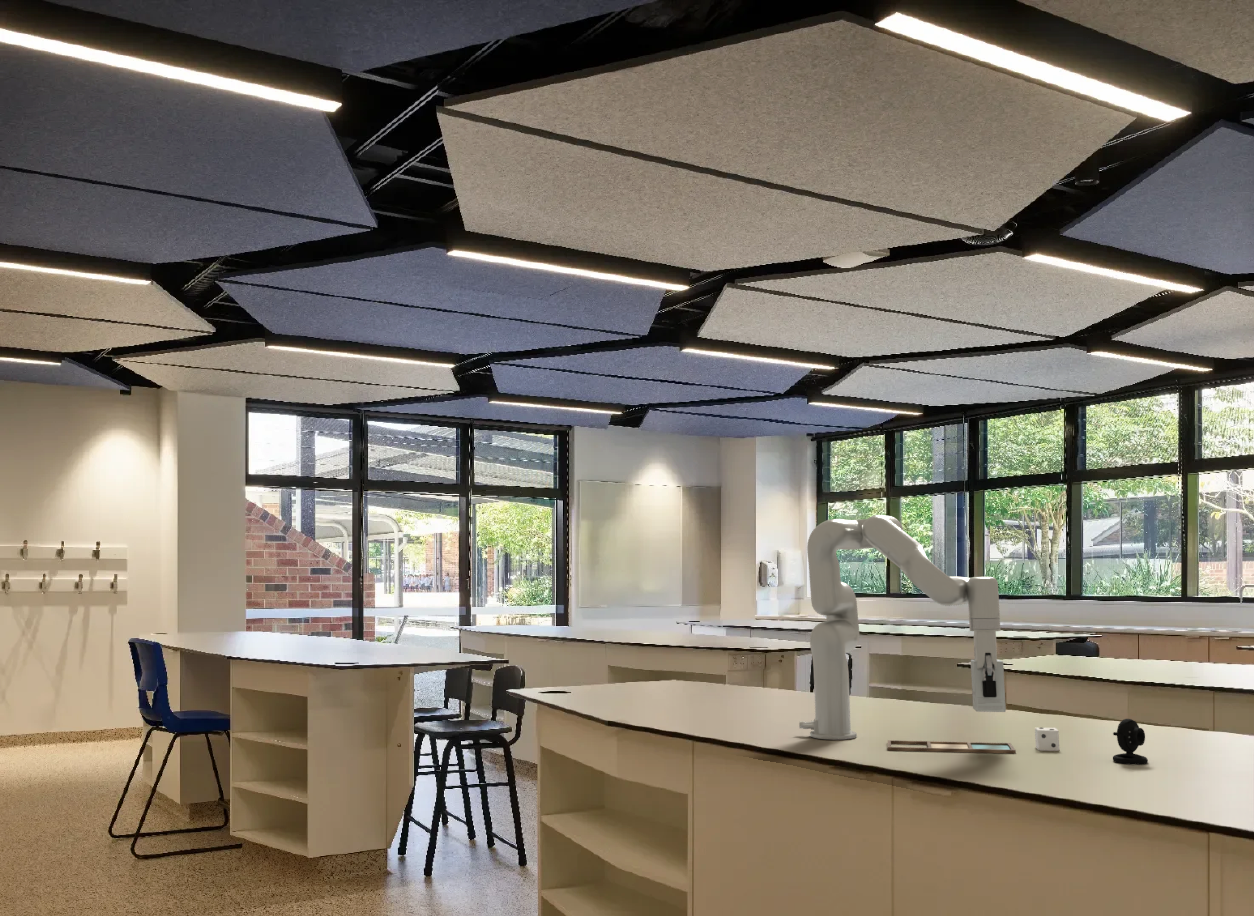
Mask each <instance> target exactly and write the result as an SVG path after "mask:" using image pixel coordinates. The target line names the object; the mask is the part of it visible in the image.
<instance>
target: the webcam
mask: <svg viewBox="0 0 1254 916" xmlns="http://www.w3.org/2000/svg"><path fill="white" fill-rule="evenodd" d="M1112 735H1113V736H1116V741H1117V744H1118V746H1119V748H1120V749H1121V750H1122V751H1124V753H1118V754H1115V755H1113V756H1112V761H1113V762H1115V763H1116V764H1117V763H1118V764H1121V765H1131V766H1133V765H1139V766H1140V765H1146V764H1147V763H1148V762H1149V760H1148V757H1146V756H1145V755H1140V754H1137V753H1135V752H1136V751H1137V749H1138V748H1139V746H1143V745H1144V744H1145V741H1146V733H1145V730H1144V729H1143V728H1142V727H1140V726H1139V724H1138V722H1136V720H1134V719H1132V718H1124V719H1122V720H1120V722H1119V723H1118V725H1117V730H1116V731H1115V732H1112Z"/></svg>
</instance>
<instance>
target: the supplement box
mask: <svg viewBox="0 0 1254 916" xmlns="http://www.w3.org/2000/svg"><path fill="white" fill-rule="evenodd" d="M992 665H993V663H992ZM983 666H984V668H987V665H986V660H985V662H984V665H983ZM994 669H995V665H994ZM994 673H995V681H996V693H997V696H996V697H984V696H983V683H982V681H984V680H983V668H980V671H978V670H977V661H975V660H974V659H970V675H971V678H970V679H971V691H972V693H971V694H972V695H971V696H972V709H973V710H975V712H978V713H980V712H983V713H985V712H986V713H1006V711H1007V710H1006V709H1007V708H1006V689H1005V671H1004V661H1003V660H1001V659H997V669H996V670H995V671H994ZM985 675H986V674H985Z"/></svg>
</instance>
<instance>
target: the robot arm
mask: <svg viewBox="0 0 1254 916" xmlns="http://www.w3.org/2000/svg"><path fill="white" fill-rule="evenodd" d="M903 528H904V527H903V525H902V522H901V521H900V520H898V519H897V518H896V517H894V516H892V515H884V514H875V515H872V516H870V517H868V518H862V519H861V518H860V519H843V518H831V519H827V520H825V521H823V522H821V523H819V524H818V525H817V526H815V528H814V529H813V530H812V532H811V533H810V535H809V537H808V541H807V547H806V548H807V549H806V550H807V561H808V570H809V571H808V573H809V588H810V601H811V607H812V608H813V610H814V612H816V613H817V614H818V615H821V616H825V617H826V620H825V621H822V622H819V623H818V624H816V625H815V626H814V628H813V629H812V630H811V632H810V637H809V645H810V652H811V655H812V656H811V657H812V664H813V665H812V667H813V684H814V685H813V686H814V714H815V715H814V720H810V721H799V723H798V725H799V729H802V730H808V729H810V730H811V731H810V732H809V736H810V737H811V738H813V739H819V740H833V741H835V740H836V741H838V740H839V741H841V740H842V741H843V740H850V739H851V740H852V739H856V738H857V736H858V735H857V732H856V731H853V730H852V727H851V705H850V703H851V700H850V699H851V697H850V678H849V677H850V675H849V673H850V672H849V666H848V659H847V655H846V654H848V653H850V652H852V651H854V650H855V649H856V647H858V644H859V640H860V626H859V612H858V603H857V597H856V593H855V591H854V590H853V588H852V587H851V586H850V585H849V584H848V583H845V582H843V581H842V579H841V569H840V567H841V566H840V563H839V560H838V557H837V552H838V550H844V551H845V550H847V551H851V550H852V551H854V550H863V549H875V550H877V552H879V553H881V555H883V556H884V557H886V558H887V559H888V560H889V561H890V562H892V563H893V564H894V565H896V567H898V568H899V569H900V570H901V572H902V573H903V574H904V575H905V577H906V578H908V580H910V582H911V583H912V584H913V585H914V586H915V587H916V588H917V589H919V590H920V591H921V592H922V593H924V595H926V596H927V597H929V599H931V600H932V601H934V602H935V603H937V604H938V605H941V606H945V607H951V606H961V605H962V606H963V605H967V604H968V606H967V607H968V621H969V632H973V654H974V655H973V656H974V659H973V660H975V661H977V670H978V671H980V668H983V680H984V681H982V683H983V696H984V697H996V696H997V693H996V681H995V673H994V671H995V670H996V669H997V660H998V652H997V651H998V650H997V649H998V648H997V632H1001V616H1000V615H1001V614H1000V598H999V597H1000V596H999V581H998V580H997V578H995V577H993V576H973V577H964V576H957V575H956V576H953V575H952V576H950V575H947V574H946V573H945V572H944V571H942V570H941V569H940V568H939V567H938V566H936V565H935V564H934V563H933V562H932V561H931V560H930V559H929V558H928V556H927V555H926V553H925V549H924V546H923V545H922V544H921V543H920V542H919V541H917V540H916V539H915V538H913V537H912V536H911V535H910V534H909V533H908V532H906V531H905V530H904V529H903ZM985 660H986V665H987V668H984V666H983V665H984V662H985ZM992 663H993V665H992ZM994 665H995V669H994ZM985 674H986V675H985Z"/></svg>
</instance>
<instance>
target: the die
mask: <svg viewBox="0 0 1254 916" xmlns="http://www.w3.org/2000/svg"><path fill="white" fill-rule="evenodd" d="M1034 733H1035V735H1034V736H1035V748H1036V749H1037V751H1053V752H1055V751H1056V752H1057V751H1058V752H1059V751H1060V748H1061V747H1060V732H1059V729H1058V728H1057V727H1043V726H1042V727H1034Z"/></svg>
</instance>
